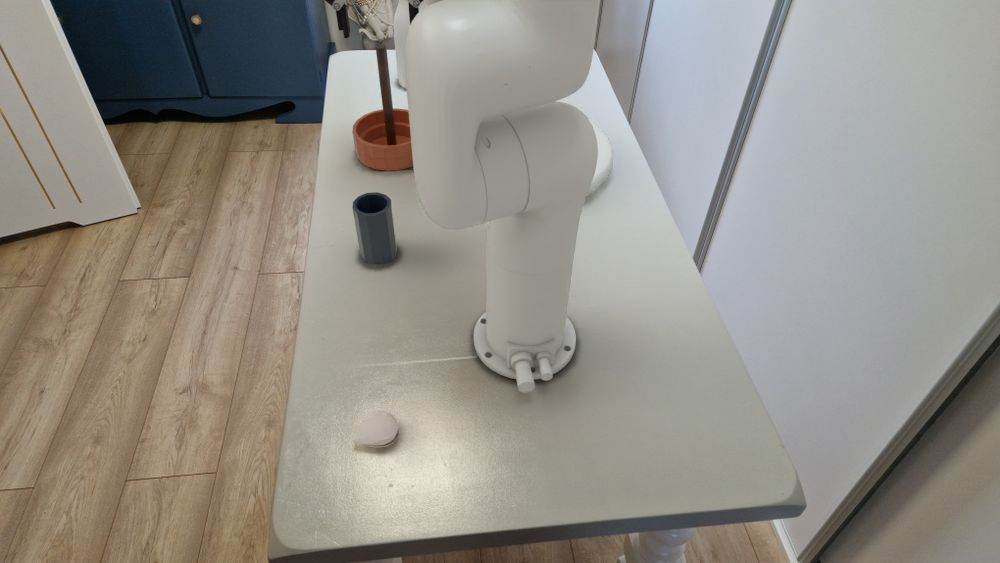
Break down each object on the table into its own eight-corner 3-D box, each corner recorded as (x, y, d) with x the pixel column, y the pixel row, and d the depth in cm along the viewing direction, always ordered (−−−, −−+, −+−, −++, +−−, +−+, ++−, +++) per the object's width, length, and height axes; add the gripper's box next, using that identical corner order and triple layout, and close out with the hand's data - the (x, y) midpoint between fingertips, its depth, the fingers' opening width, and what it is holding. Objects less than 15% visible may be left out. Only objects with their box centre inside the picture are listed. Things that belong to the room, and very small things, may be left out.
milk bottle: (395, 91, 127) (384, -16, 113) (401, 72, 133) (391, -32, 119) (435, 92, 127) (429, -15, 113) (439, 73, 132) (434, -31, 119)
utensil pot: (397, 265, 91) (391, 214, 85) (360, 268, 90) (351, 216, 84) (397, 242, 95) (391, 191, 88) (362, 244, 94) (353, 193, 88)
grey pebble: (405, 442, 71) (403, 429, 69) (361, 463, 69) (358, 450, 67) (389, 413, 73) (387, 400, 72) (347, 432, 71) (343, 419, 70)
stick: (397, 151, 110) (386, 48, 98) (387, 152, 110) (375, 48, 98) (397, 146, 112) (386, 43, 99) (387, 147, 111) (375, 44, 99)
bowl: (430, 171, 108) (429, 145, 104) (355, 175, 106) (350, 149, 103) (427, 132, 116) (426, 106, 113) (357, 135, 115) (354, 110, 112)
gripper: (293, -89, 81) (318, 46, 93) (433, -92, 83) (440, 41, 95) (299, -104, 87) (322, 25, 99) (430, -107, 89) (438, 21, 100)
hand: (380, 33), depth 97 cm, fingers open, 9 cm apart
